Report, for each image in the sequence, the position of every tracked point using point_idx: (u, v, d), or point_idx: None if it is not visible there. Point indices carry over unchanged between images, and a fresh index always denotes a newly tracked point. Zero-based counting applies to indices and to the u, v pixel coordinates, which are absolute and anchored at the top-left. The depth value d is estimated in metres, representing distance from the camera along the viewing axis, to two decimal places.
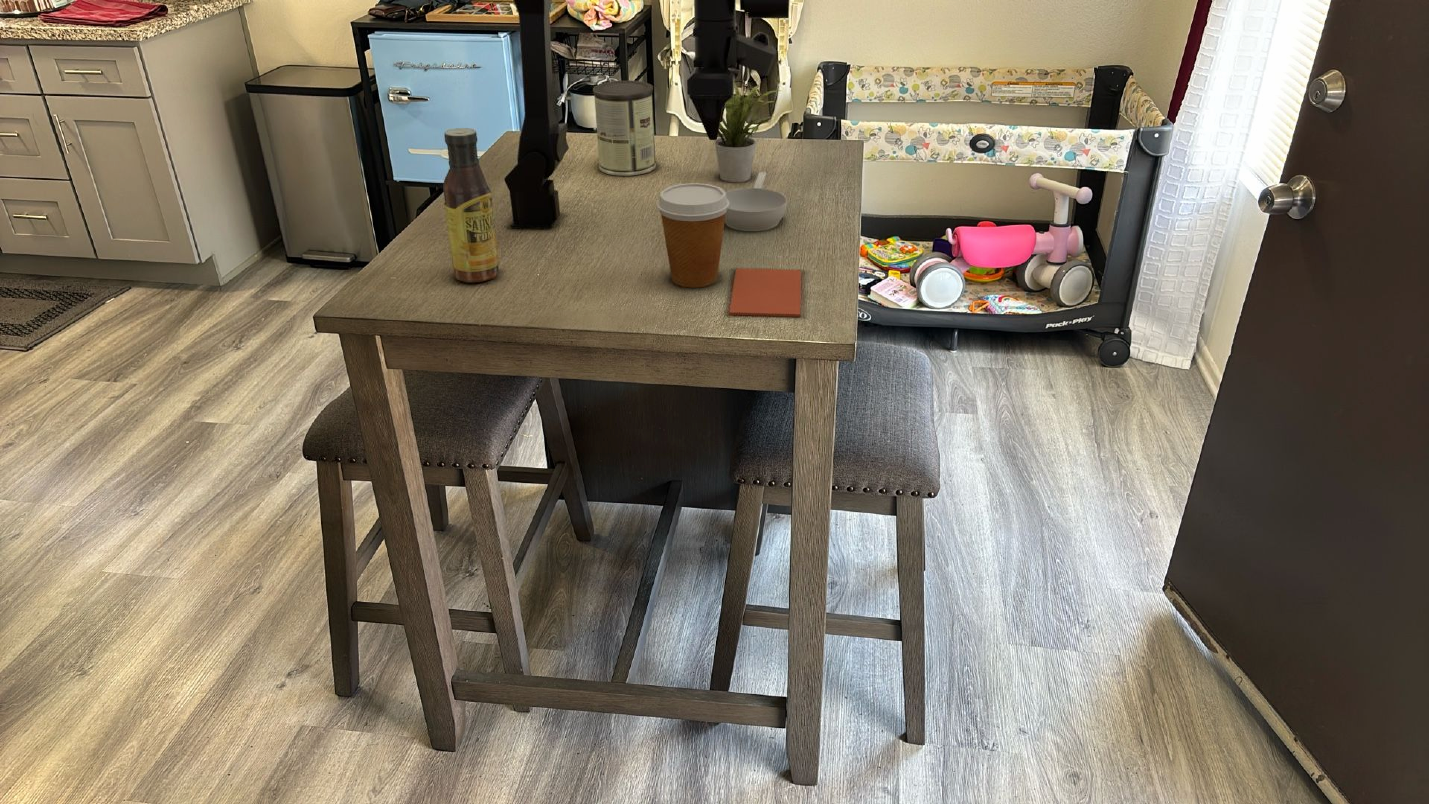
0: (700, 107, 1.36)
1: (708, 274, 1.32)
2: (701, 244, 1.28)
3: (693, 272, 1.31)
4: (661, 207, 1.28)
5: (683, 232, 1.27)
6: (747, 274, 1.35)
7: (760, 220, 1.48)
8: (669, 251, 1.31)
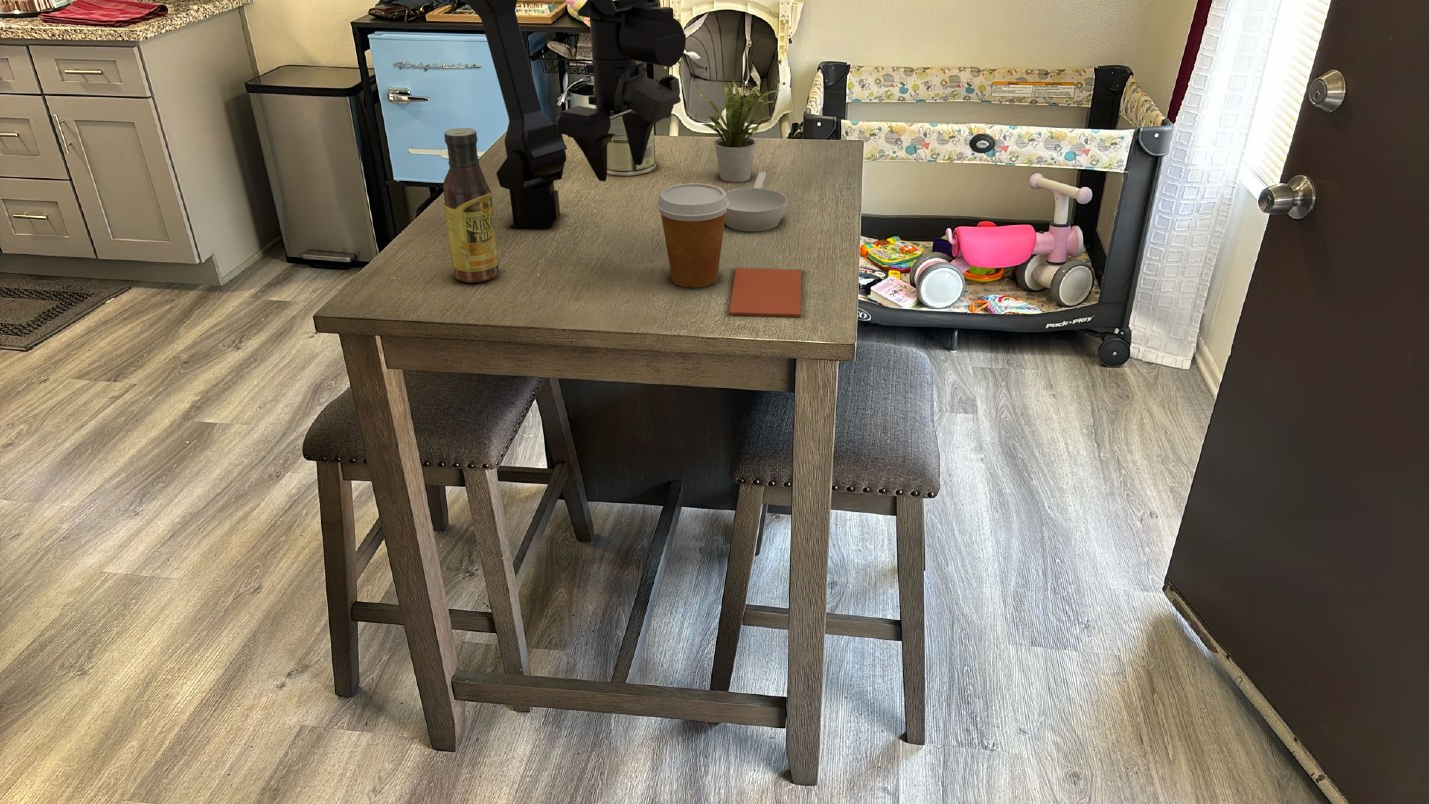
0: (582, 145, 1.30)
1: (708, 274, 1.32)
2: (701, 244, 1.28)
3: (693, 272, 1.31)
4: (661, 207, 1.28)
5: (683, 232, 1.27)
6: (747, 274, 1.35)
7: (760, 220, 1.48)
8: (669, 251, 1.31)
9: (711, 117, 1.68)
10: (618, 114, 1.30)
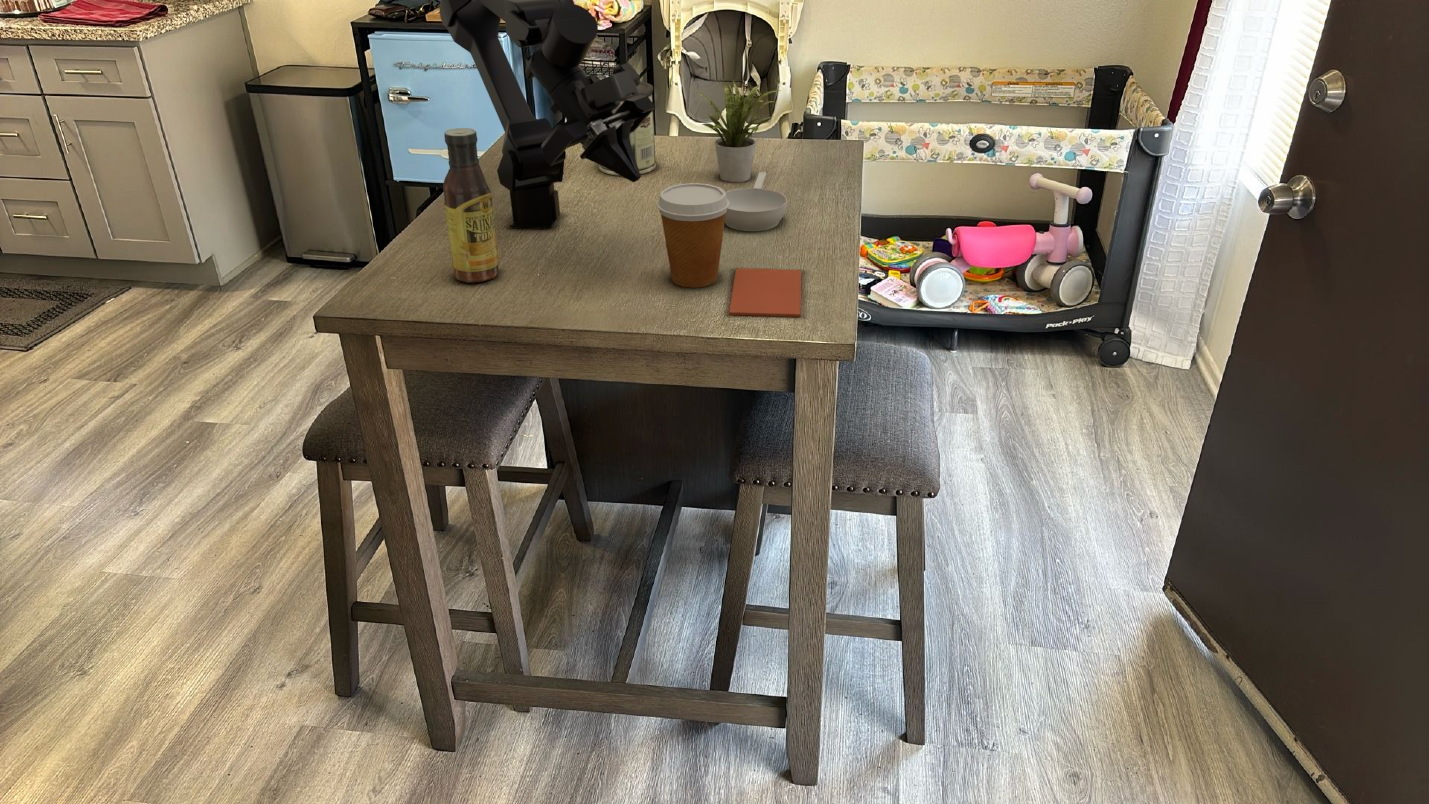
0: (600, 160, 1.32)
1: (708, 274, 1.32)
2: (701, 244, 1.28)
3: (693, 272, 1.31)
4: (661, 207, 1.28)
5: (683, 232, 1.27)
6: (747, 274, 1.35)
7: (760, 220, 1.48)
8: (669, 251, 1.31)
9: (711, 117, 1.68)
10: None
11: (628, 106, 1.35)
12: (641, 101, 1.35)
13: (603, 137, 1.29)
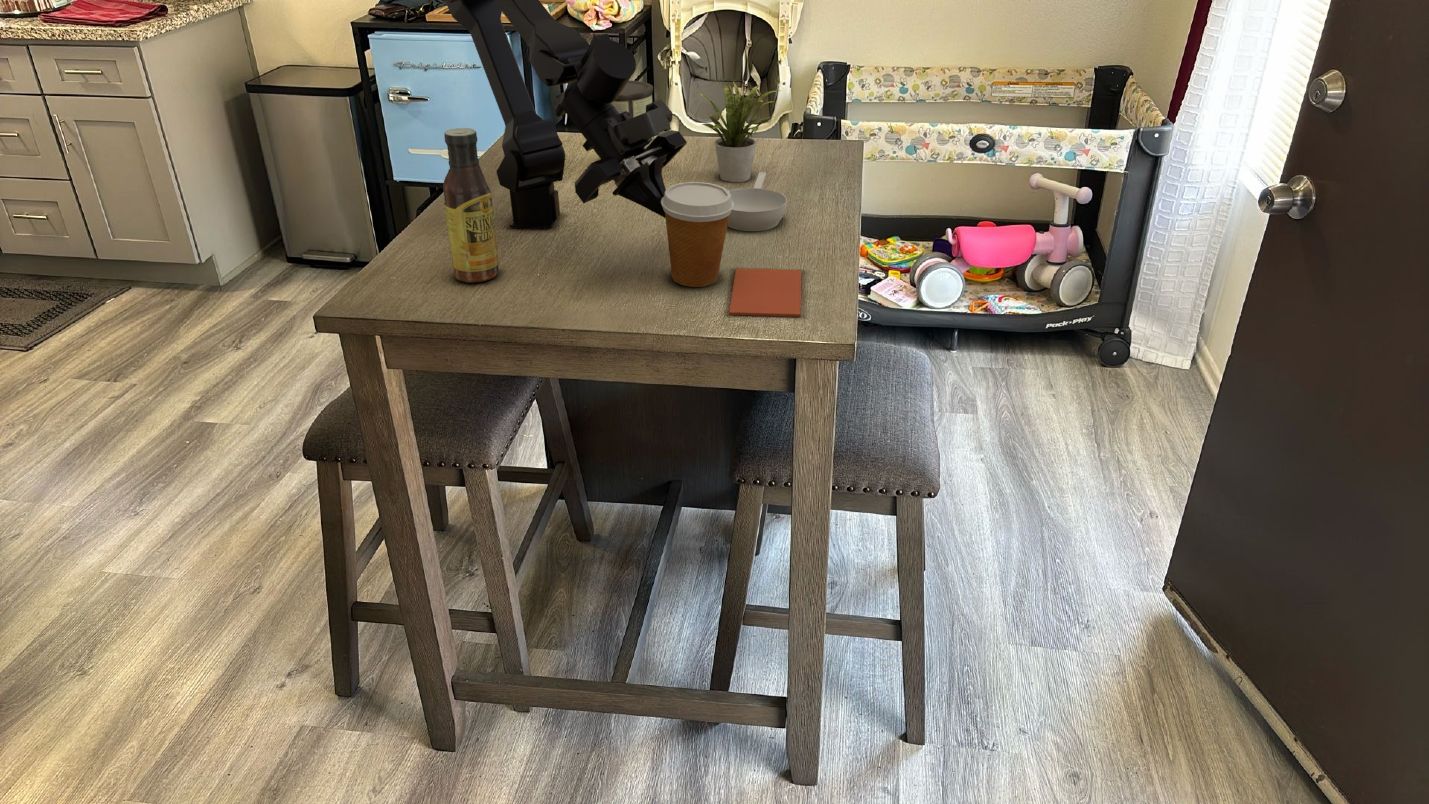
0: (633, 196, 1.32)
1: (709, 274, 1.32)
2: (704, 245, 1.28)
3: (694, 272, 1.31)
4: (665, 206, 1.27)
5: (686, 232, 1.27)
6: (747, 274, 1.35)
7: (760, 220, 1.48)
8: (671, 249, 1.31)
9: (711, 117, 1.68)
10: None
11: (660, 142, 1.35)
12: (673, 137, 1.35)
13: (636, 174, 1.29)
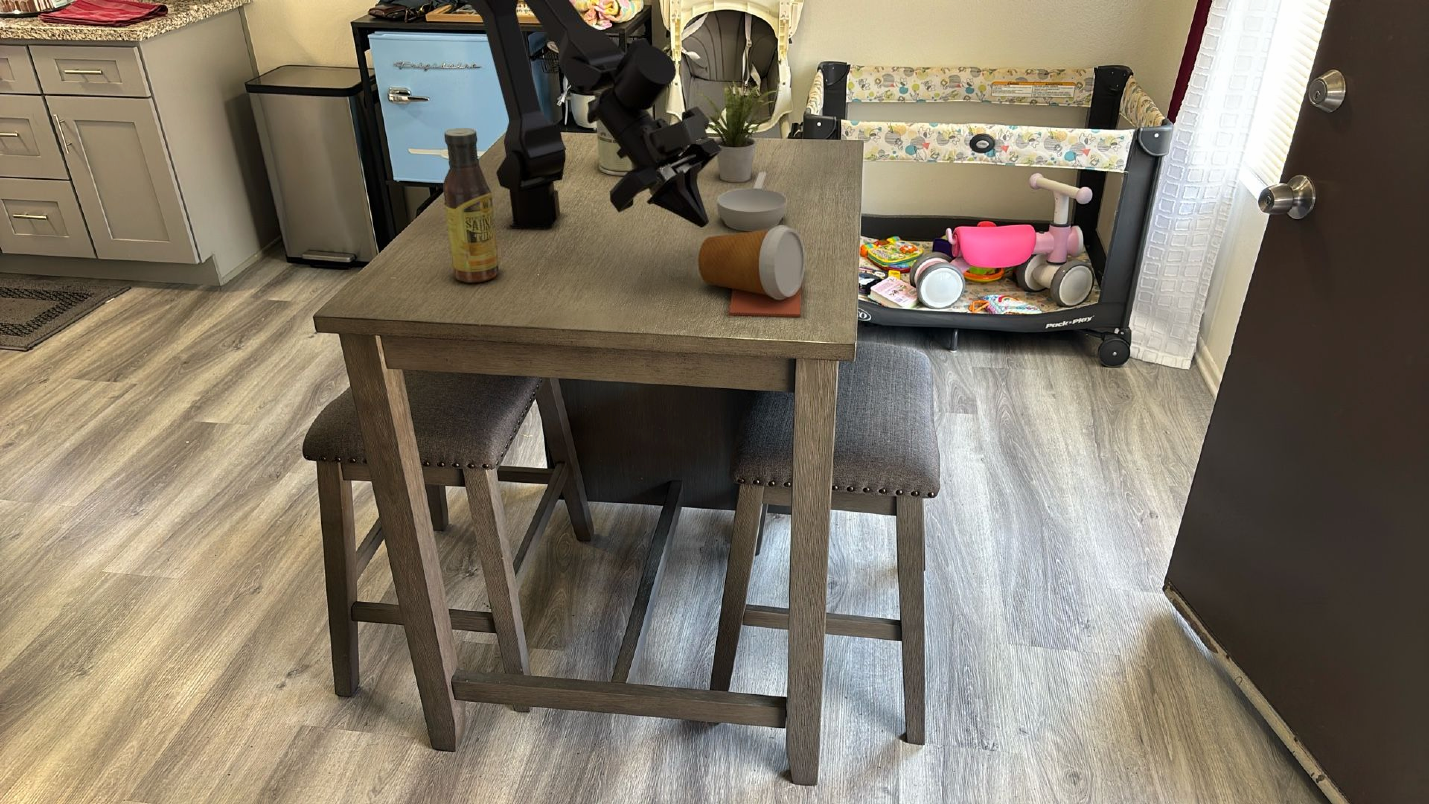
0: (668, 205, 1.29)
1: None
2: (747, 290, 1.28)
3: (717, 282, 1.29)
4: (765, 258, 1.22)
5: (751, 282, 1.25)
6: None
7: (760, 220, 1.48)
8: (726, 259, 1.26)
9: (711, 117, 1.68)
10: None
11: (694, 149, 1.32)
12: (708, 144, 1.32)
13: (672, 183, 1.26)
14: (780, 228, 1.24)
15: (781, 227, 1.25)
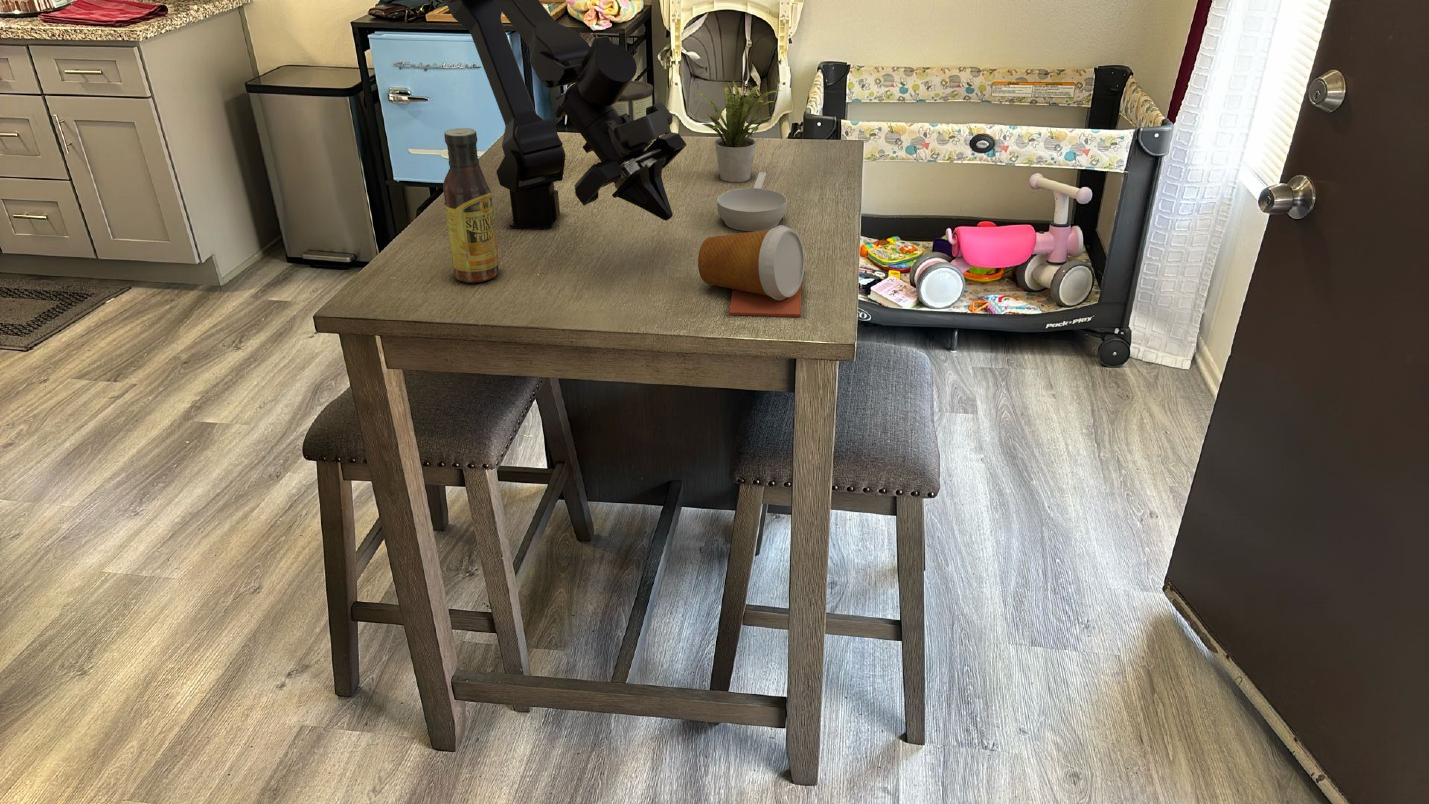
0: (633, 198, 1.32)
1: None
2: (747, 291, 1.28)
3: (717, 283, 1.29)
4: (765, 259, 1.22)
5: (751, 283, 1.25)
6: None
7: (760, 220, 1.48)
8: (726, 260, 1.26)
9: (711, 117, 1.68)
10: None
11: (660, 144, 1.35)
12: (672, 139, 1.35)
13: (636, 176, 1.29)
14: (779, 228, 1.24)
15: (780, 227, 1.25)
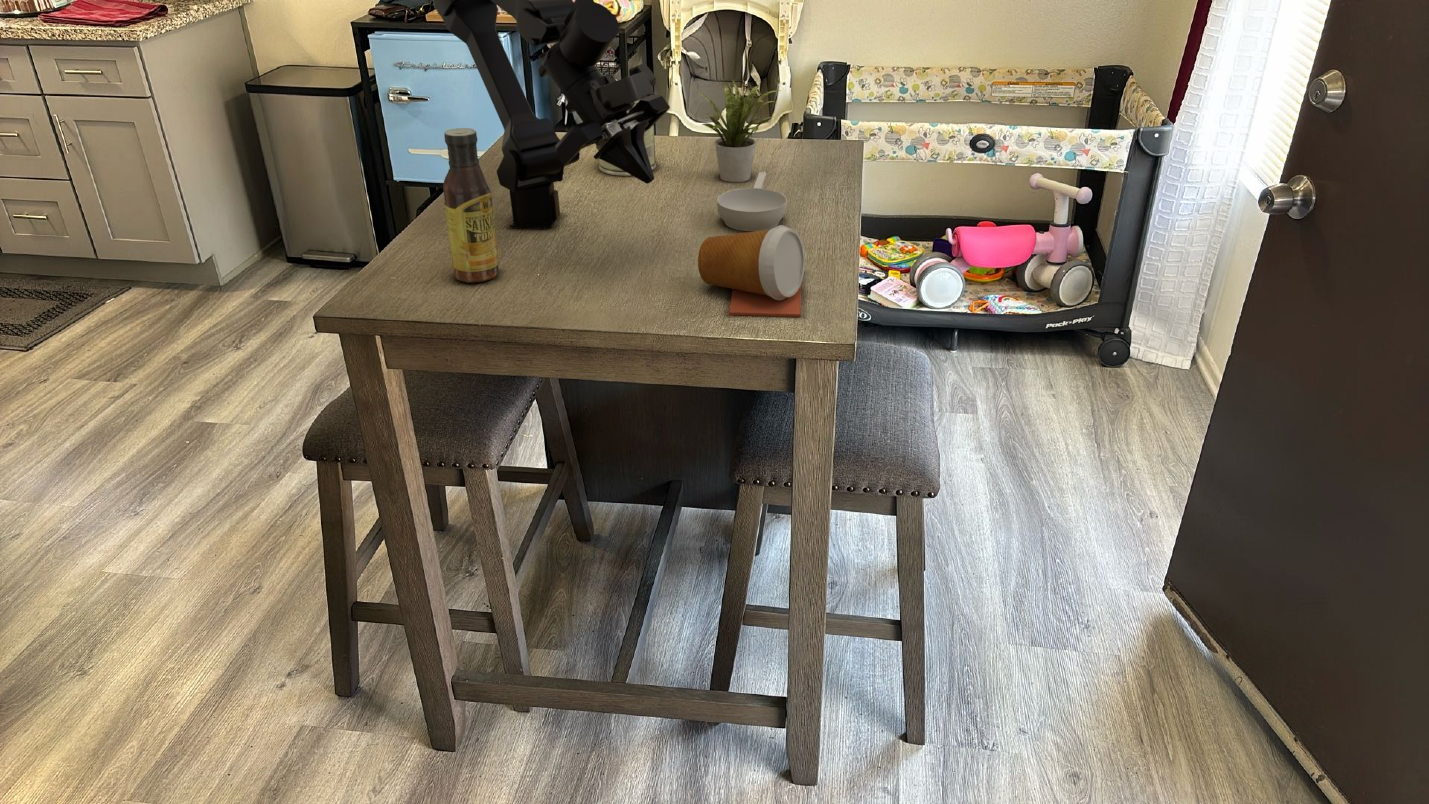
0: (614, 160, 1.32)
1: None
2: (747, 291, 1.28)
3: (717, 283, 1.29)
4: (765, 259, 1.22)
5: (751, 283, 1.25)
6: None
7: (760, 220, 1.48)
8: (726, 260, 1.26)
9: (711, 117, 1.68)
10: None
11: (643, 106, 1.34)
12: (656, 101, 1.34)
13: (618, 138, 1.28)
14: (779, 228, 1.24)
15: (780, 227, 1.25)
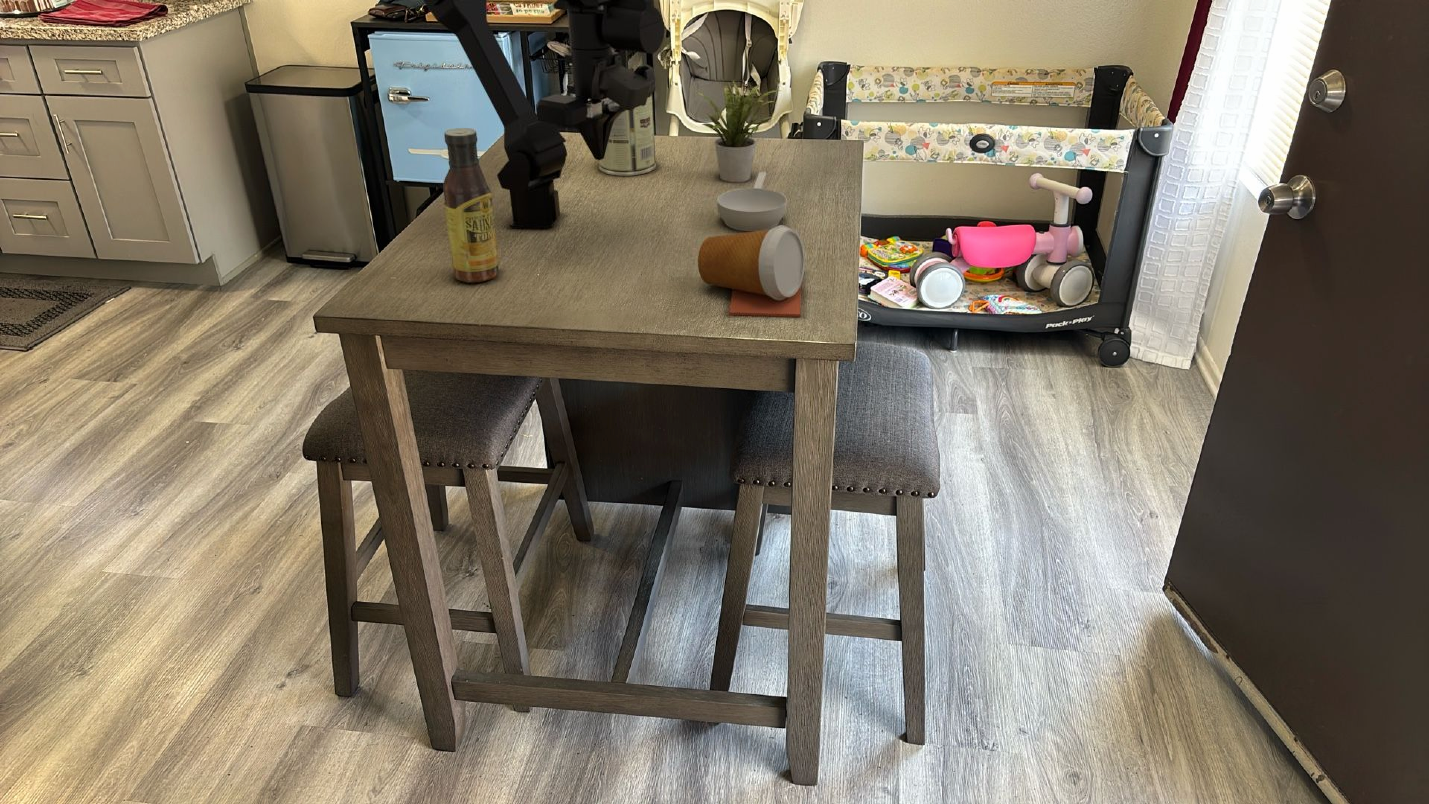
0: (579, 126, 1.39)
1: None
2: (747, 291, 1.28)
3: (717, 283, 1.29)
4: (765, 259, 1.22)
5: (751, 283, 1.25)
6: None
7: (760, 220, 1.48)
8: (726, 260, 1.26)
9: (711, 117, 1.68)
10: None
11: None
12: None
13: None
14: (779, 228, 1.24)
15: (780, 227, 1.25)
